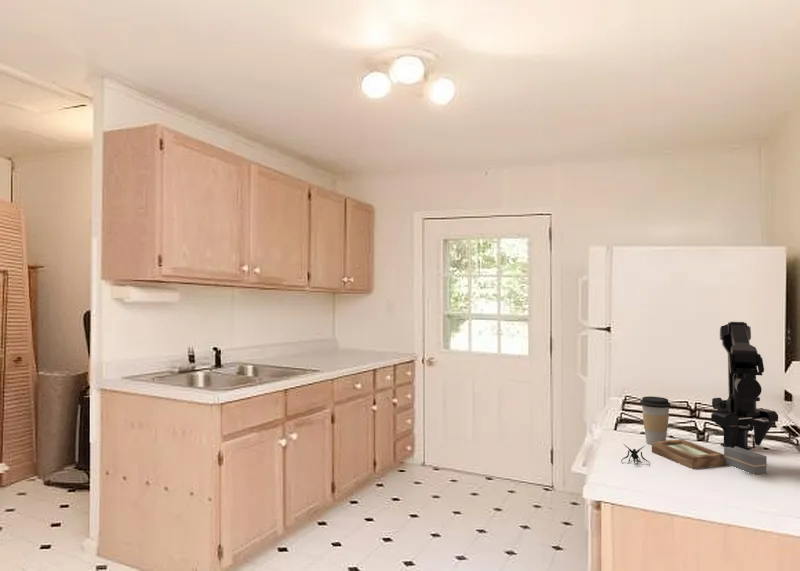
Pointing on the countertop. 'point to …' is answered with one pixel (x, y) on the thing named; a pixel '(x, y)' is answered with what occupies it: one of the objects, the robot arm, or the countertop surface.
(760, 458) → the glasses case
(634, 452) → the creature
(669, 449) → the wooden picture frame
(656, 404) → the coffee cup
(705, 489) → the countertop surface
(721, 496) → the countertop surface
